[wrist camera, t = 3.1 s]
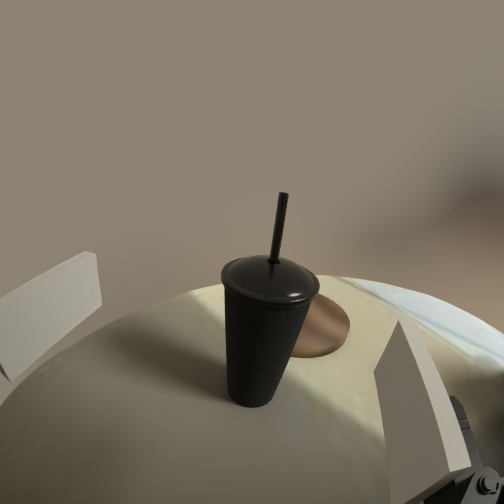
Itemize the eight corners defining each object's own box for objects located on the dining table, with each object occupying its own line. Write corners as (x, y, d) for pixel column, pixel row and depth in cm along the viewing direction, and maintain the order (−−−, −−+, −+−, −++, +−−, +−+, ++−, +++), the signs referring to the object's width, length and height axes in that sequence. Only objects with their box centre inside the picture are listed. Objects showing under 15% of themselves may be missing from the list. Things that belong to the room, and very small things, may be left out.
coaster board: (299, 287, 49) (300, 280, 49) (366, 332, 37) (369, 325, 37) (221, 306, 41) (221, 297, 40) (287, 374, 28) (290, 365, 28)
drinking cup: (238, 430, 21) (273, 205, 14) (201, 377, 27) (210, 182, 20) (301, 400, 25) (359, 207, 18) (260, 358, 31) (289, 185, 24)
